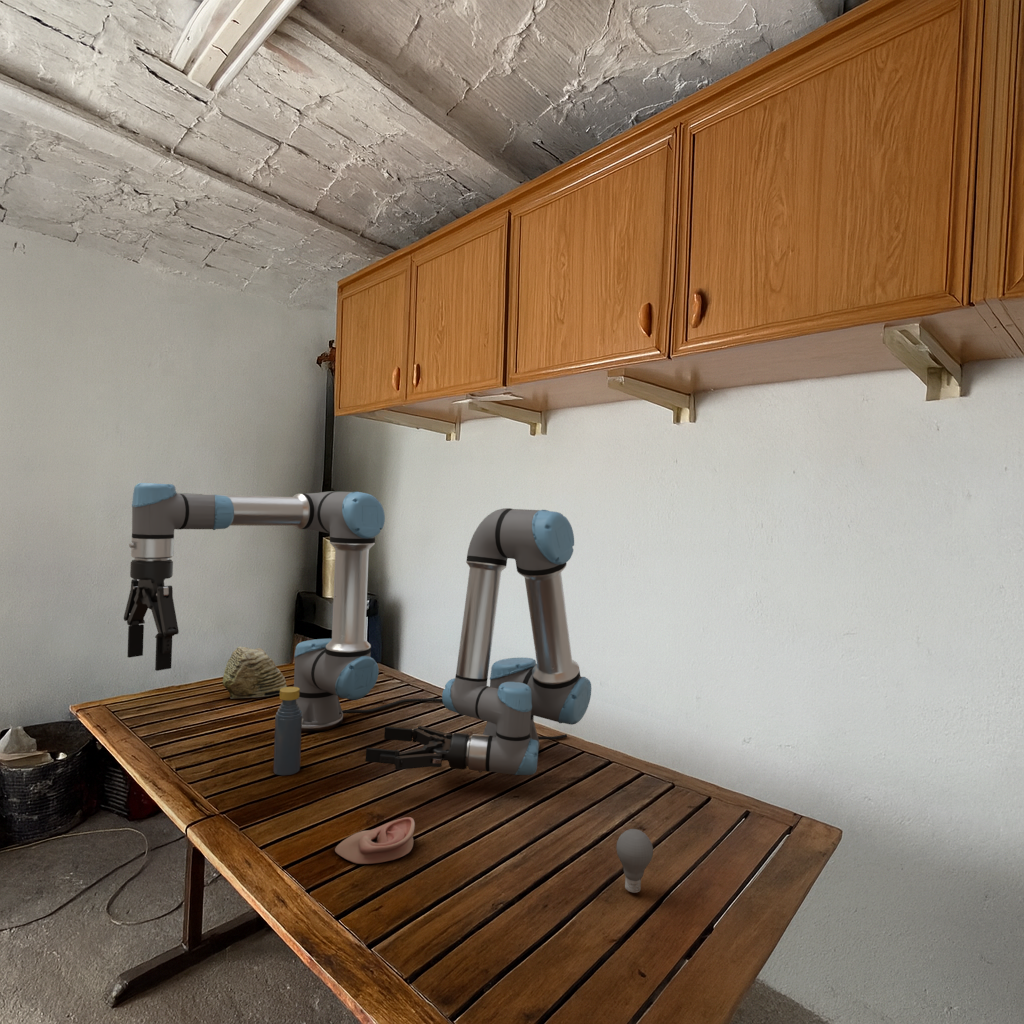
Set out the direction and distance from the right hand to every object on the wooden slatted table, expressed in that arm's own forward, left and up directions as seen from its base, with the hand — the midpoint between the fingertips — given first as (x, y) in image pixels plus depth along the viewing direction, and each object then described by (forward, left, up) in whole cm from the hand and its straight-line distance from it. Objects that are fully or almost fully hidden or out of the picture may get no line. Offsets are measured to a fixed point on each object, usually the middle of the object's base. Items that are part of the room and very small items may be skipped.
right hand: (375, 743), depth 143 cm
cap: (+19, -10, +10) cm, 23 cm away
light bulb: (-36, +53, -8) cm, 64 cm away
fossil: (+28, -68, -8) cm, 74 cm away
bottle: (+19, -9, -8) cm, 23 cm away
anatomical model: (+3, +29, -8) cm, 30 cm away
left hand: (+46, -2, +20) cm, 50 cm away
